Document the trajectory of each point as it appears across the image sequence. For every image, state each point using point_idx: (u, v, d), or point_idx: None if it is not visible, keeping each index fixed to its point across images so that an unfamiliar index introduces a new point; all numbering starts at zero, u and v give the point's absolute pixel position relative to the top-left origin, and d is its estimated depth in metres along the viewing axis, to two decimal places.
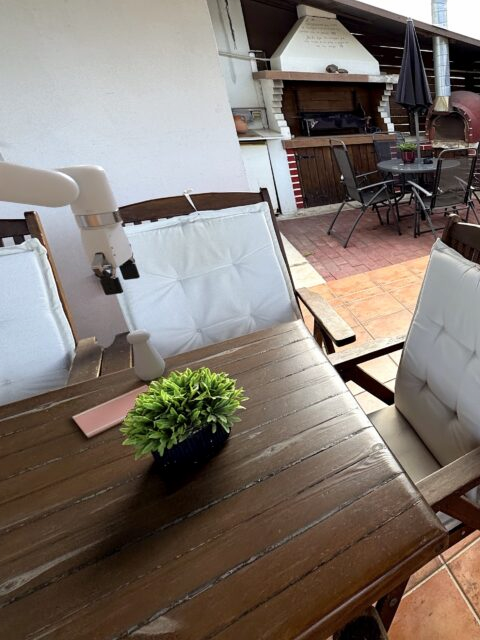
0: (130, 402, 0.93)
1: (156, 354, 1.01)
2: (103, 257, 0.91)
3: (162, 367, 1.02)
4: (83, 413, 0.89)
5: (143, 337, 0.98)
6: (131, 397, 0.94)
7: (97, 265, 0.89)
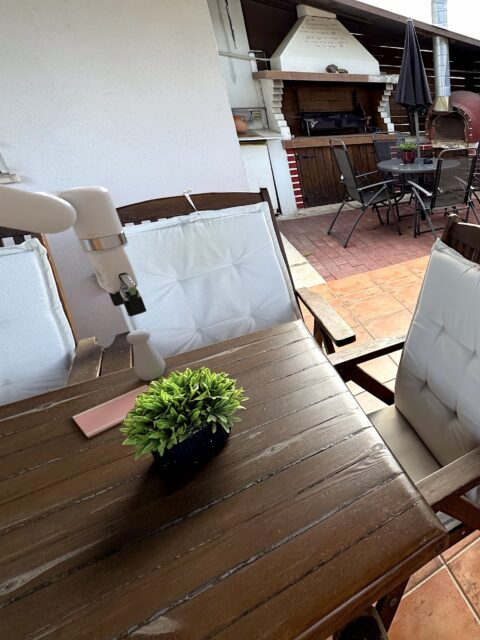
0: (130, 402, 0.93)
1: (156, 354, 1.01)
2: None
3: (162, 367, 1.02)
4: (83, 413, 0.89)
5: (143, 337, 0.98)
6: (131, 397, 0.94)
7: (133, 283, 0.89)
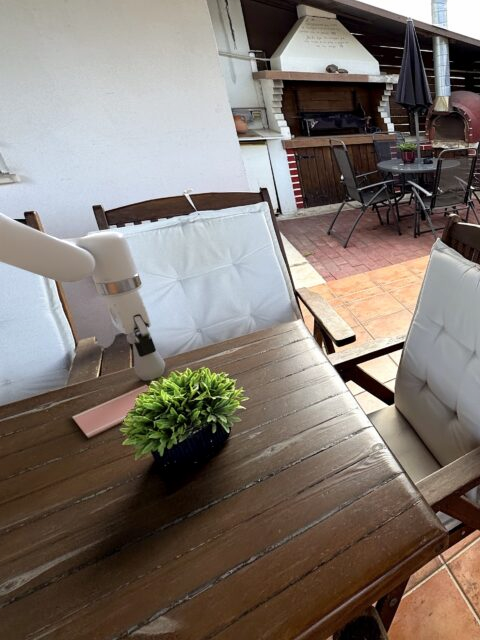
0: (130, 402, 0.93)
1: (156, 354, 1.01)
2: None
3: (162, 367, 1.02)
4: (83, 413, 0.89)
5: None
6: (131, 397, 0.94)
7: (147, 331, 0.94)
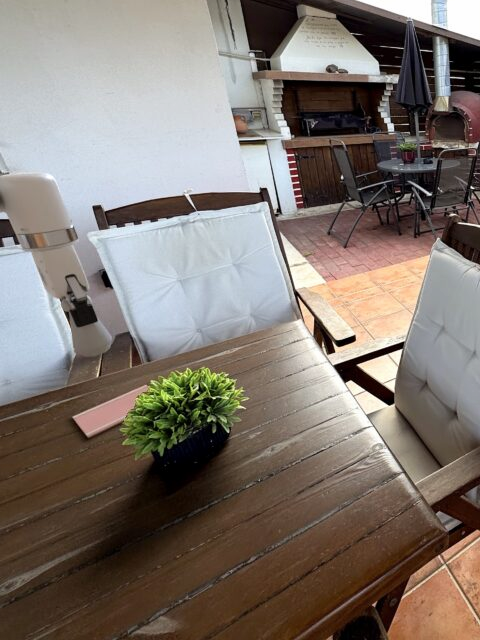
0: (130, 402, 0.93)
1: (99, 325, 0.84)
2: (77, 282, 0.78)
3: (107, 341, 0.85)
4: (83, 413, 0.89)
5: None
6: (131, 397, 0.94)
7: (83, 295, 0.78)
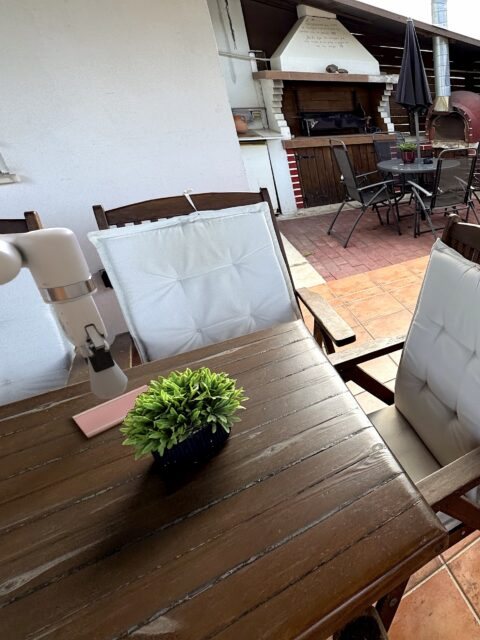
0: (130, 402, 0.93)
1: (116, 369, 0.88)
2: (95, 331, 0.82)
3: (123, 383, 0.89)
4: (83, 413, 0.89)
5: None
6: (131, 397, 0.94)
7: (102, 343, 0.81)
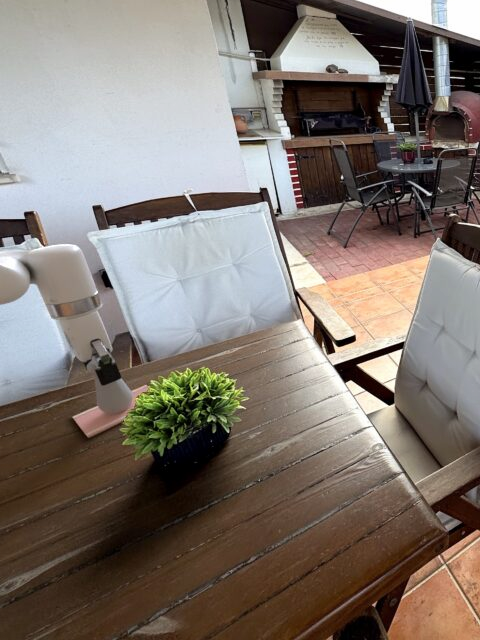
0: None
1: (122, 384, 0.89)
2: None
3: (129, 399, 0.90)
4: (83, 413, 0.89)
5: None
6: None
7: (106, 352, 0.81)
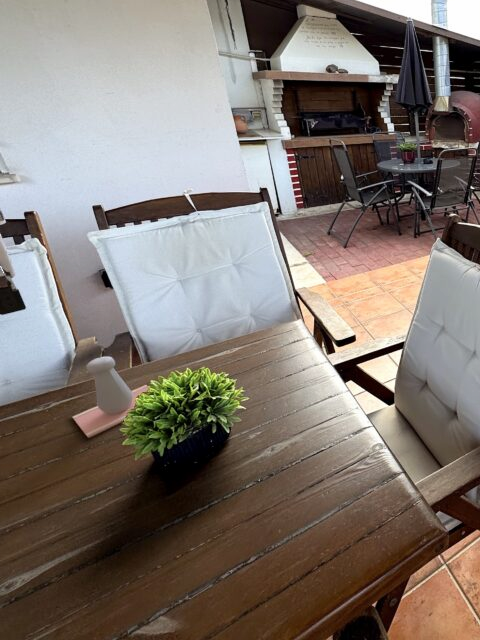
0: None
1: (122, 384, 0.89)
2: None
3: (129, 399, 0.90)
4: (83, 413, 0.89)
5: (106, 366, 0.86)
6: None
7: (2, 272, 0.70)
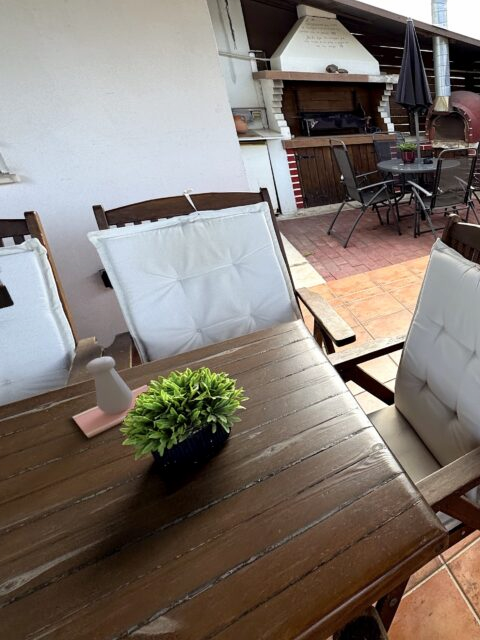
0: None
1: (122, 384, 0.89)
2: None
3: (129, 399, 0.90)
4: (83, 413, 0.89)
5: (106, 366, 0.86)
6: None
7: None
